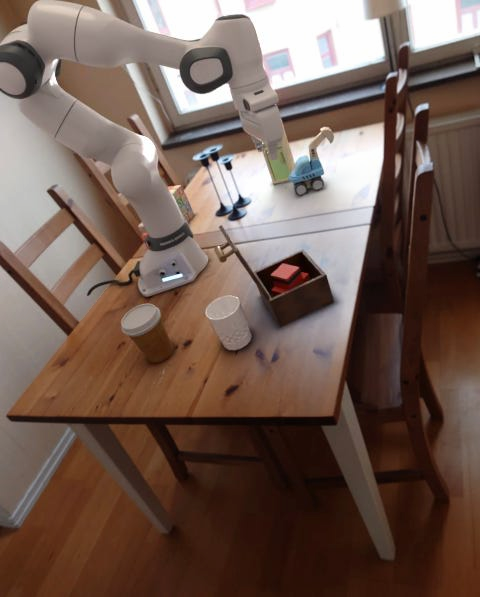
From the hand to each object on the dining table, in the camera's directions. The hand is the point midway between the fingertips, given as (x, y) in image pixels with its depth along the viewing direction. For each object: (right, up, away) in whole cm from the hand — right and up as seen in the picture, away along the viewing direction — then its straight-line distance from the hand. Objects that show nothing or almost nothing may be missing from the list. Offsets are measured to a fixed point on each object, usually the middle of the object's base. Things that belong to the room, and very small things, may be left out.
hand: (267, 155), depth 113 cm
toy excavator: (+19, +3, +43) cm, 47 cm away
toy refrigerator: (+10, +8, +56) cm, 57 cm away
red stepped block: (+6, -34, -2) cm, 35 cm away
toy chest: (+7, -35, -1) cm, 35 cm away
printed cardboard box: (-30, -11, +52) cm, 61 cm away
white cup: (-7, -44, -5) cm, 45 cm away
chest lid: (-5, -26, -10) cm, 29 cm away
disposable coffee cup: (-25, -47, +1) cm, 54 cm away
